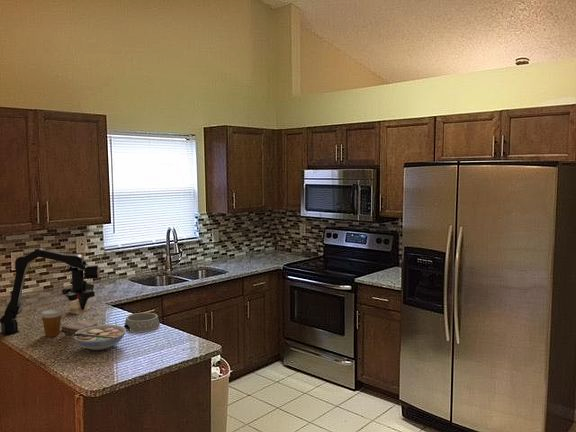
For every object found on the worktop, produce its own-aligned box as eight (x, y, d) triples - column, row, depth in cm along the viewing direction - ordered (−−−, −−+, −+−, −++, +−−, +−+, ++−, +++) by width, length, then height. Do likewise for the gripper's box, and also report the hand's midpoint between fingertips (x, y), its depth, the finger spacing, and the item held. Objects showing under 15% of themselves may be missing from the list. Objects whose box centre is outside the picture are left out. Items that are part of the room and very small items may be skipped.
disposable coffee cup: (42, 333, 247) (41, 309, 246) (63, 330, 251) (62, 307, 250) (41, 339, 238) (40, 315, 237) (62, 336, 242) (61, 312, 241)
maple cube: (77, 314, 249) (77, 302, 249) (70, 312, 252) (69, 301, 252) (87, 311, 254) (87, 300, 254) (80, 309, 257) (79, 298, 257)
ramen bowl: (138, 341, 235) (137, 324, 234) (110, 359, 213) (110, 340, 212) (91, 337, 241) (91, 321, 240) (60, 354, 219) (59, 336, 218)
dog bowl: (148, 319, 272) (147, 309, 271) (165, 326, 259) (165, 316, 258) (118, 326, 260) (118, 316, 259) (135, 334, 247) (135, 323, 246)
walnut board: (77, 334, 246) (77, 330, 246) (61, 330, 252) (61, 326, 252) (97, 327, 256) (97, 323, 256) (82, 323, 262) (81, 320, 262)
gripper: (103, 278, 254) (103, 307, 255) (79, 274, 263) (80, 303, 265) (84, 282, 244) (85, 313, 246) (60, 278, 254) (61, 307, 255)
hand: (78, 309), depth 253 cm, fingers closed on maple cube, 6 cm apart
